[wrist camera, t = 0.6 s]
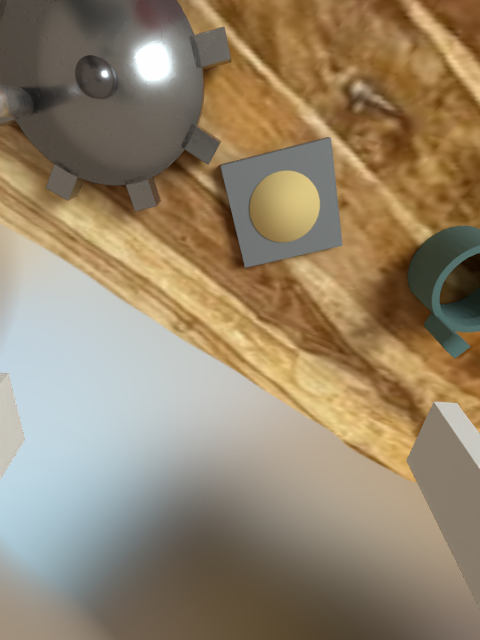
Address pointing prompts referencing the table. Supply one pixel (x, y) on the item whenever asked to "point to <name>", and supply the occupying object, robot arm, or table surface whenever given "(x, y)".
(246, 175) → the seat
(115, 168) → the sprocket
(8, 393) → the robot arm
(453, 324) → the bracket
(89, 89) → the hub
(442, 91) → the table surface
